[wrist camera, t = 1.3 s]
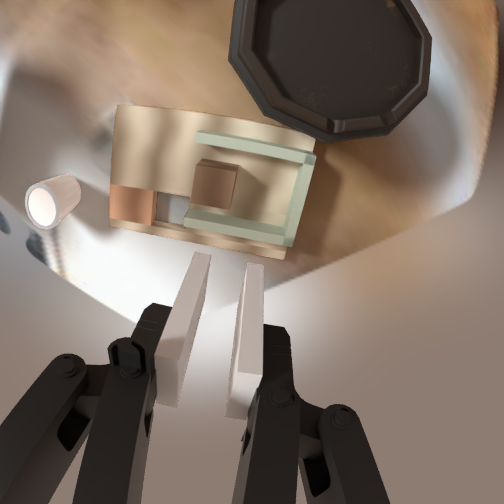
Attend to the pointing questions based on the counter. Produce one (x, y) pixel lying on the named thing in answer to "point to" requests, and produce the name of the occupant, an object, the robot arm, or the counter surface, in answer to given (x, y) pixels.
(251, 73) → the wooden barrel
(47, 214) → the shot glass
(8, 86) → the counter surface
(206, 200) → the block
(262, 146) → the cubby
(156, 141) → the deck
